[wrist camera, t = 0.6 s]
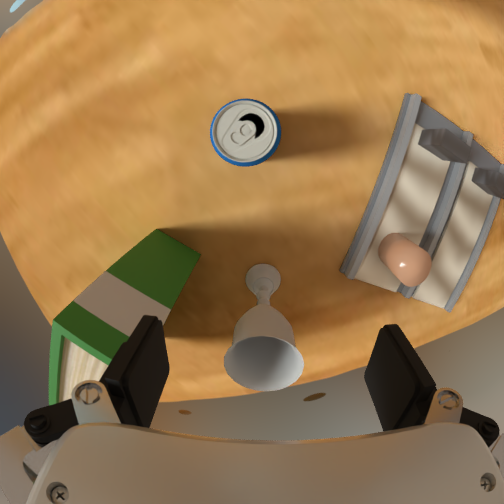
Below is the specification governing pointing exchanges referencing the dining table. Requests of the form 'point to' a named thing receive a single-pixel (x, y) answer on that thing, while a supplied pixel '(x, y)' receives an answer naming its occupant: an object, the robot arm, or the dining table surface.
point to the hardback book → (115, 310)
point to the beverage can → (245, 132)
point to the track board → (431, 119)
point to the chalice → (263, 339)
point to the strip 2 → (460, 234)
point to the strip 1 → (413, 196)
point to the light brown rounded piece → (405, 259)
